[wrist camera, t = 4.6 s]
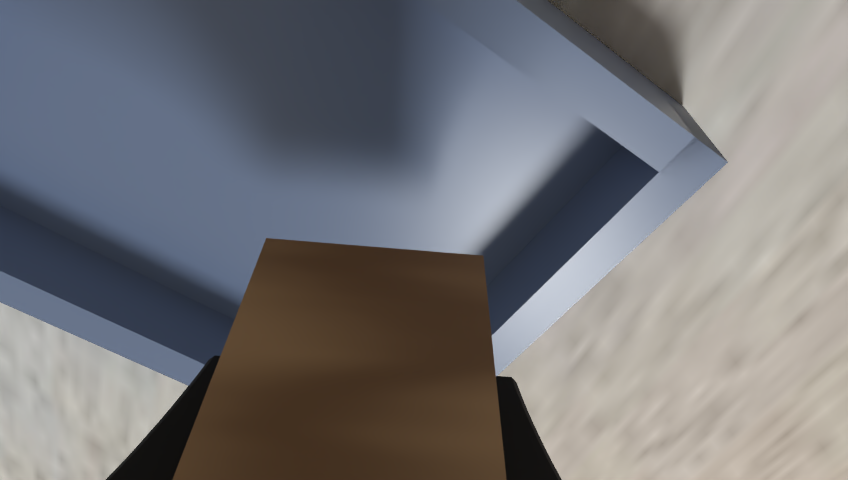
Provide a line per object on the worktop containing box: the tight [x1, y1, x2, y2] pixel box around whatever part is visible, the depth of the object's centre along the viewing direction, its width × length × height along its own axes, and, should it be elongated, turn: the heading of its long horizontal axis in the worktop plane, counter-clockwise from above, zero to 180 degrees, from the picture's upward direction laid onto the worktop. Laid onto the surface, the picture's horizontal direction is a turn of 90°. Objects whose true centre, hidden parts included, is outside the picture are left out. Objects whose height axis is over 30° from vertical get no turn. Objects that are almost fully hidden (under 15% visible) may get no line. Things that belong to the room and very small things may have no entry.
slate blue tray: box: [0, 0, 728, 386], centre depth 16 cm, size 16×13×3 cm
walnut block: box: [173, 238, 506, 480], centre depth 11 cm, size 4×4×6 cm
